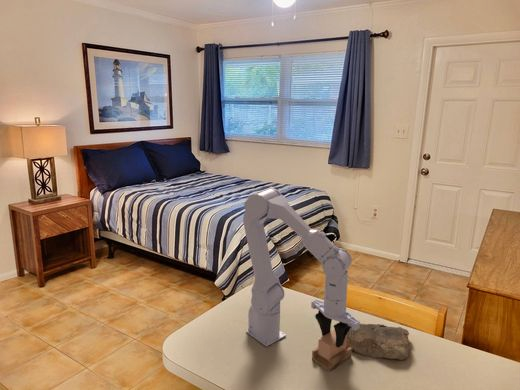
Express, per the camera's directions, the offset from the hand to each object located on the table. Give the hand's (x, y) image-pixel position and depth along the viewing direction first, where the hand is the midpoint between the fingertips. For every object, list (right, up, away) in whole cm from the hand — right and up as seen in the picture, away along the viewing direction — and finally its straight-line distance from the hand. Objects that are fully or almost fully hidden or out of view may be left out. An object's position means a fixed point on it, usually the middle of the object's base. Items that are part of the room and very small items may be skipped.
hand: (332, 341), depth 102 cm
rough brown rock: (+13, -4, +8) cm, 16 cm away
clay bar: (0, -3, +1) cm, 3 cm away
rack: (0, -5, +1) cm, 5 cm away
